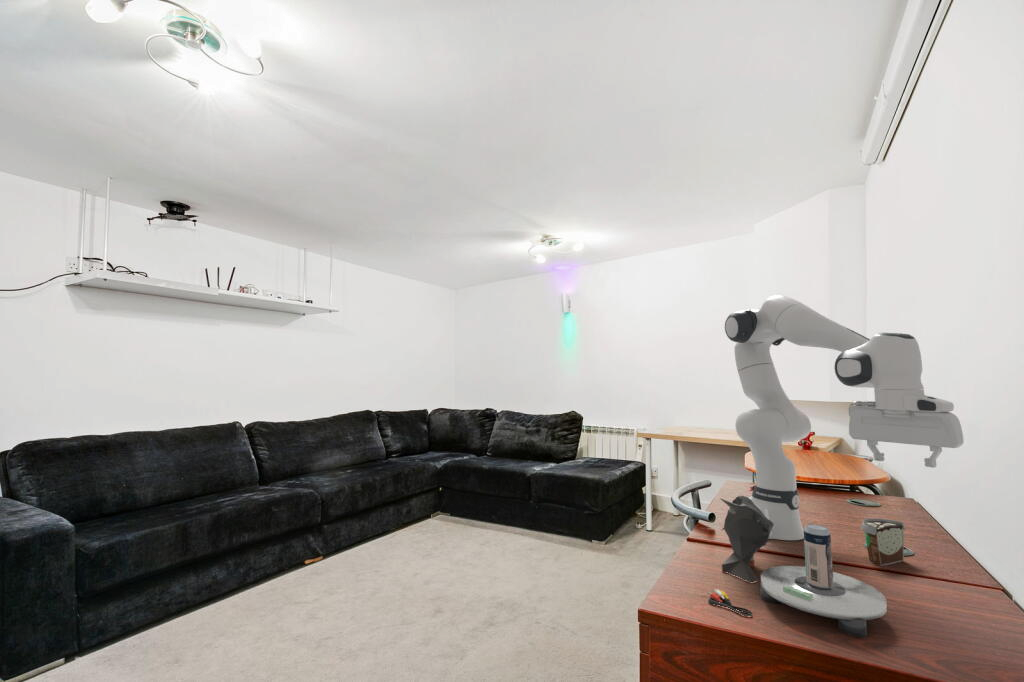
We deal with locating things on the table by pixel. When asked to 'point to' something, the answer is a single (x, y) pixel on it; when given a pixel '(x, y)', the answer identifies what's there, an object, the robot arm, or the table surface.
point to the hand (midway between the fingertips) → (903, 463)
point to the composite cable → (725, 601)
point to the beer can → (818, 556)
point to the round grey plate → (825, 597)
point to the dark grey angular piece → (745, 536)
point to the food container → (884, 540)
